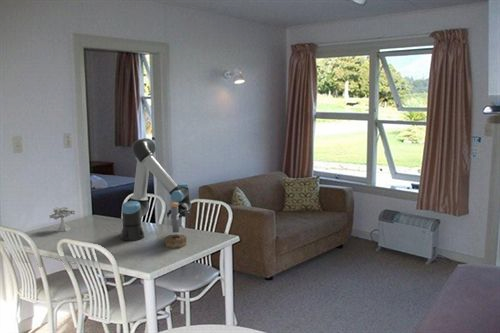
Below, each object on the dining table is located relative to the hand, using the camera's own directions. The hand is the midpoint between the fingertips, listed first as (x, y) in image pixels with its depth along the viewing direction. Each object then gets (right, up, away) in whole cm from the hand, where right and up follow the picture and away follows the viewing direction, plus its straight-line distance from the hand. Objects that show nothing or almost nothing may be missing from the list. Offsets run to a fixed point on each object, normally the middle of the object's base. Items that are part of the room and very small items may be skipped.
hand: (173, 217), depth 293 cm
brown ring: (0, -18, +8) cm, 19 cm away
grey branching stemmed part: (-85, -14, +46) cm, 97 cm away
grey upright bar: (+1, -9, +7) cm, 11 cm away
